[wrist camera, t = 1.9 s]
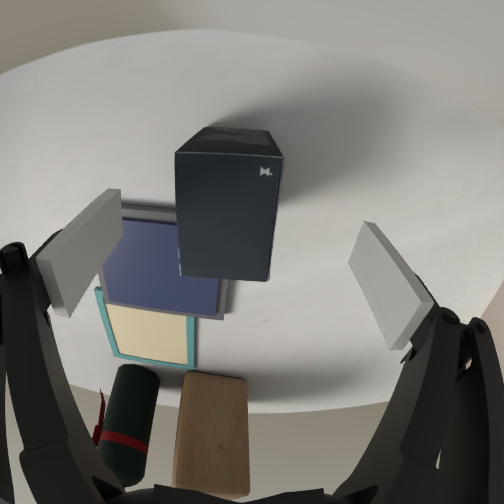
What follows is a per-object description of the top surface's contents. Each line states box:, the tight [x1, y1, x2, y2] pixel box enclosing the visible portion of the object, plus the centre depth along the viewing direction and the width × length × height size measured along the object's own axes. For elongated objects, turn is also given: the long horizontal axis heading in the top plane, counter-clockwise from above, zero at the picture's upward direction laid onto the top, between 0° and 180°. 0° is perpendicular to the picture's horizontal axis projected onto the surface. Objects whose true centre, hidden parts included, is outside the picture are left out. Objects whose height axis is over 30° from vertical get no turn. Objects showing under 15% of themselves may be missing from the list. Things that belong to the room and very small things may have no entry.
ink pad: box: [88, 204, 228, 320], centre depth 28 cm, size 15×13×1 cm
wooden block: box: [171, 371, 250, 500], centre depth 34 cm, size 10×10×20 cm
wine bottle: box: [92, 364, 161, 489], centre depth 28 cm, size 8×10×30 cm
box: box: [175, 127, 285, 282], centre depth 19 cm, size 8×6×11 cm
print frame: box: [94, 287, 195, 370], centre depth 34 cm, size 13×14×1 cm
